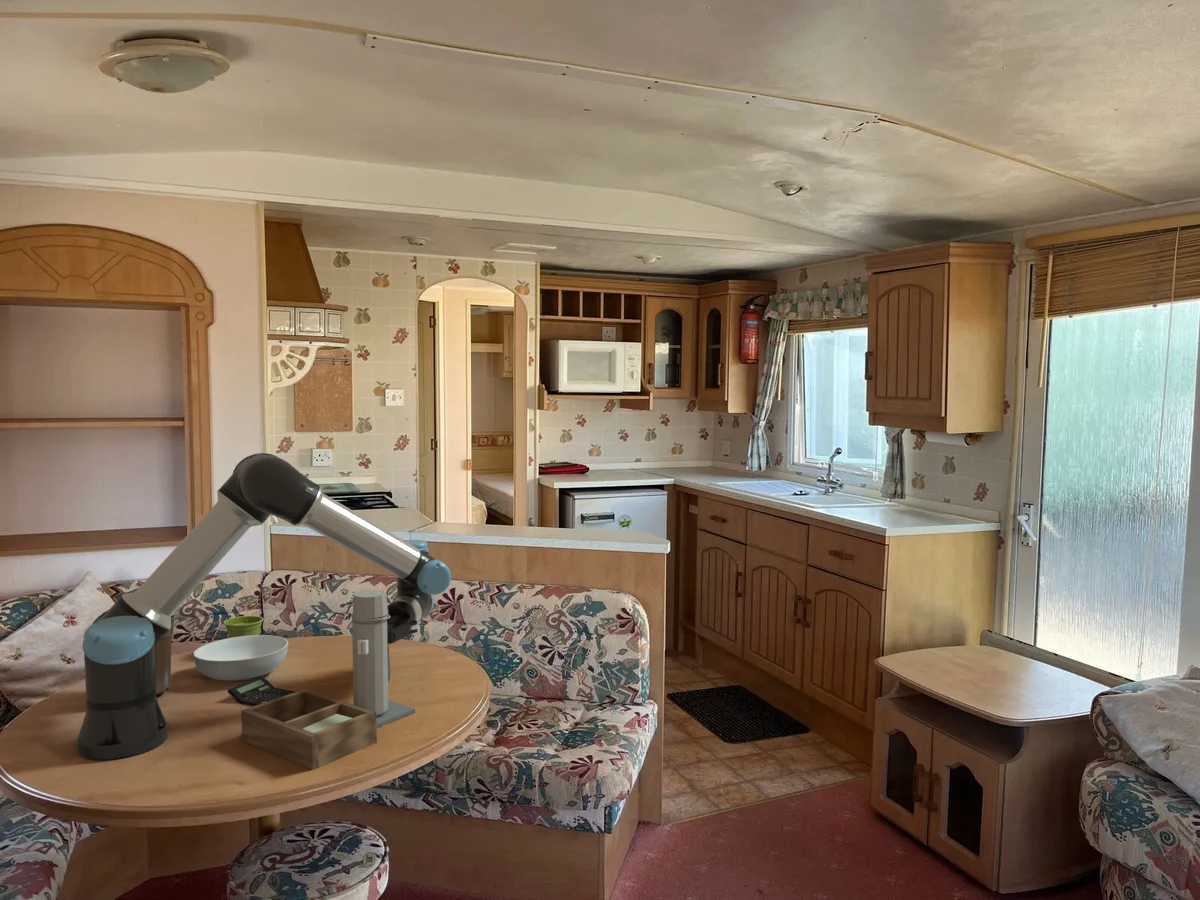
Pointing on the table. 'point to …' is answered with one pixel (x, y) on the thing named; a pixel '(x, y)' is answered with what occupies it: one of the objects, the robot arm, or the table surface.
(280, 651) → the serving bowl
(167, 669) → the plant pot
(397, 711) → the slate mat
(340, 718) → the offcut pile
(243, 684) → the calculator
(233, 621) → the plant pot
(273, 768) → the table surface
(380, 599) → the water bottle
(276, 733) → the walnut divided tray
